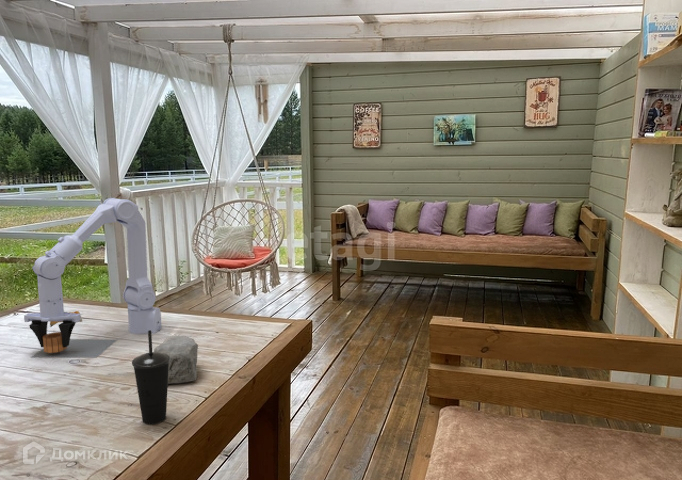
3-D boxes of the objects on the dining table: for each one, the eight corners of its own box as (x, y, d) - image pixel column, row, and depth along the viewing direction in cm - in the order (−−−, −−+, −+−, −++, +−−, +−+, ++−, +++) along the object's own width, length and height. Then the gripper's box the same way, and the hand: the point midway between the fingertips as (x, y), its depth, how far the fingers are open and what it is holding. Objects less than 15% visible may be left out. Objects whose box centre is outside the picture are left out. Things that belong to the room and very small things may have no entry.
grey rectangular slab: (117, 344, 154) (117, 339, 153) (96, 362, 140) (96, 357, 140) (57, 343, 153) (57, 339, 153) (30, 362, 139) (30, 357, 139)
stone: (152, 369, 136) (150, 333, 134) (197, 364, 140) (195, 329, 138) (152, 390, 124) (150, 351, 122) (201, 383, 128) (199, 345, 126)
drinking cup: (141, 410, 114) (136, 325, 111) (176, 409, 114) (172, 324, 111) (130, 428, 106) (124, 337, 103) (167, 427, 107) (163, 336, 104)
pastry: (53, 329, 167) (52, 318, 166) (47, 324, 171) (46, 313, 171) (83, 323, 173) (83, 312, 172) (77, 318, 178) (76, 308, 177)
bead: (70, 345, 145) (69, 332, 145) (60, 352, 140) (59, 339, 139) (50, 345, 145) (49, 332, 145) (39, 352, 140) (38, 339, 139)
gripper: (15, 303, 136) (20, 351, 138) (70, 303, 136) (74, 351, 139) (30, 296, 143) (35, 342, 145) (82, 296, 143) (86, 342, 146)
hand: (55, 346), depth 142 cm, fingers closed on bead, 5 cm apart
